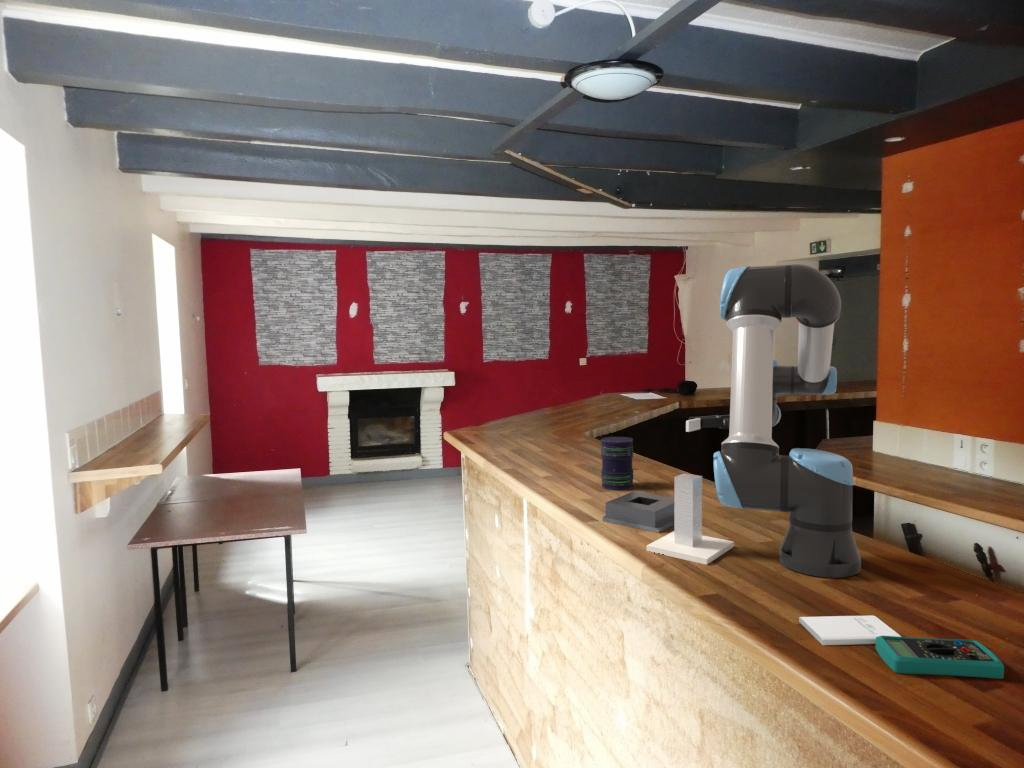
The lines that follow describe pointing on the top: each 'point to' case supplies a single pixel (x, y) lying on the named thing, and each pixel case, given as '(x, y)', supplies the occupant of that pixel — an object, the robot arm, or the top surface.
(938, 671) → the digital multimeter
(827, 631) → the external hard drive
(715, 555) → the cream pad
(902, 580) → the top surface
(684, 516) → the aluminium plug
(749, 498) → the robot arm
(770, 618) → the top surface
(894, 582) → the top surface
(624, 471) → the storage jar
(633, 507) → the socket block
